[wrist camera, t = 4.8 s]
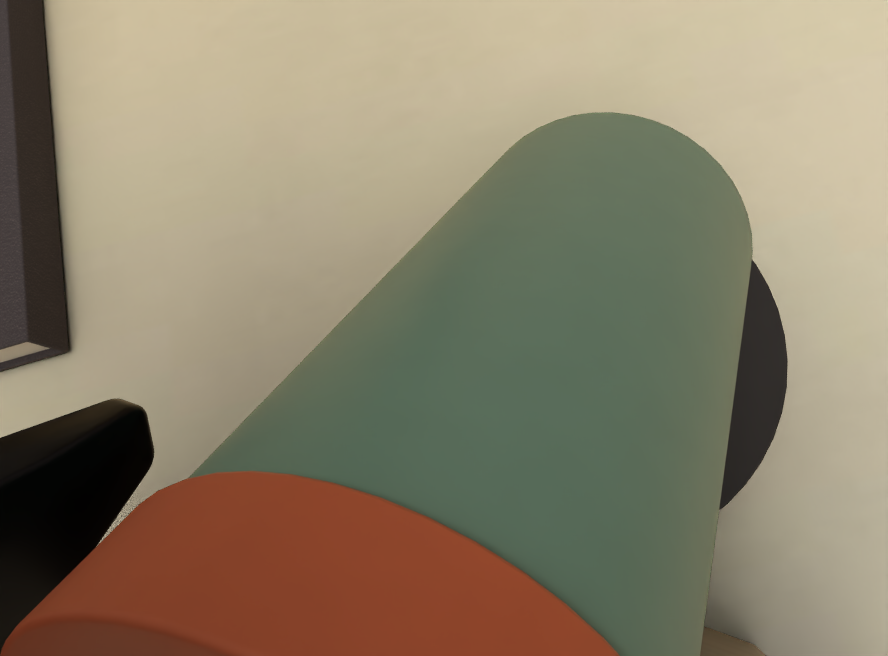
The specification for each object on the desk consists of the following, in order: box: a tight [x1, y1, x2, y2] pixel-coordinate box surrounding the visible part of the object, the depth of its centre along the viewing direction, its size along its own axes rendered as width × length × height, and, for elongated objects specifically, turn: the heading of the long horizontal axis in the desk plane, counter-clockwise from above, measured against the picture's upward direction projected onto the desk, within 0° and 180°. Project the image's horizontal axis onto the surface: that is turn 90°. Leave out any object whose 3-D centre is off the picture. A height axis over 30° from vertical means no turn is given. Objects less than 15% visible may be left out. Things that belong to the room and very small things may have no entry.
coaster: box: [719, 260, 787, 510], centre depth 17 cm, size 9×9×1 cm
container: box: [0, 113, 753, 656], centre depth 11 cm, size 12×6×12 cm, turn 161°
